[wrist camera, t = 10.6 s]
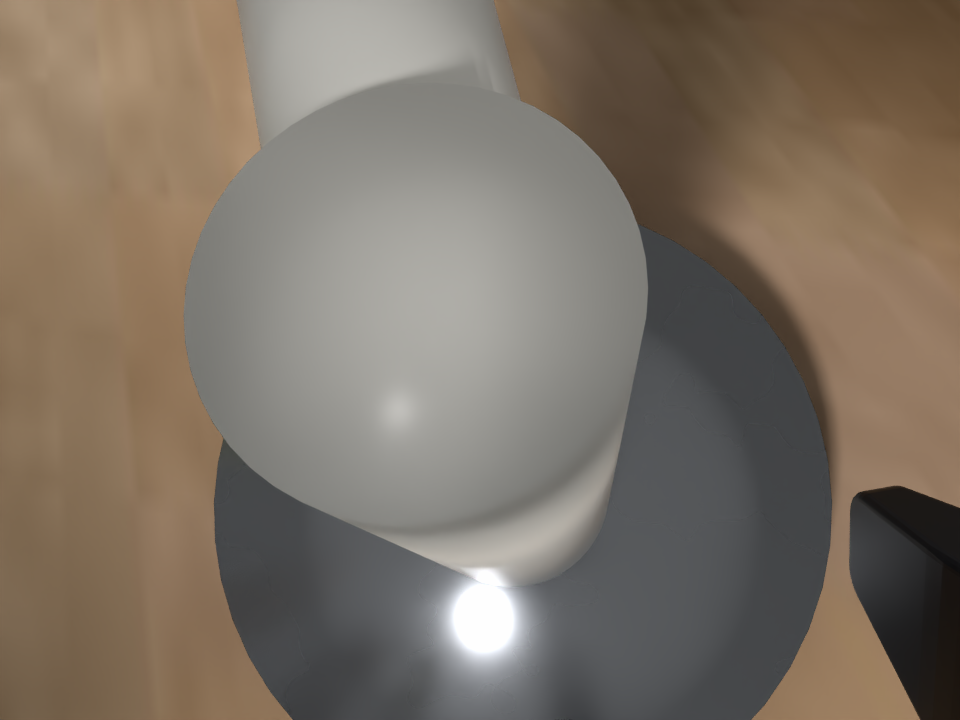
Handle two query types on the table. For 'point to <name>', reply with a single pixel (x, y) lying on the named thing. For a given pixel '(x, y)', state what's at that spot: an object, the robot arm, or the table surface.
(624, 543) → the flange plate
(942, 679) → the robot arm
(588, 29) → the table surface
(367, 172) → the duct elbow
